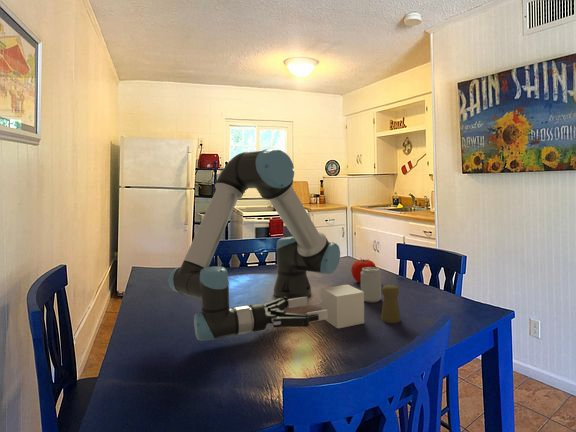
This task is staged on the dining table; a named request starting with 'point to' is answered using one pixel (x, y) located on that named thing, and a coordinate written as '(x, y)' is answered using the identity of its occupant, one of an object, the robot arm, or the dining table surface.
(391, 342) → the dining table surface
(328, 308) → the cream rounded cube
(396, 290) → the cork
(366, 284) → the can
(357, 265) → the tomato
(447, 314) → the dining table surface
